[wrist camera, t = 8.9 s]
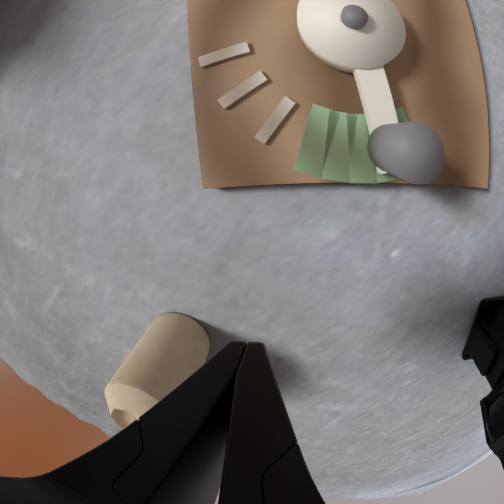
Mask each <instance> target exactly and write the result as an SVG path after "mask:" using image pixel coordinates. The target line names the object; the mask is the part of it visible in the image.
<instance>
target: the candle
mask: <svg viewBox="0 0 504 504" xmlns="http://www.w3.org/2000/svg"><path fill="white" fill-rule="evenodd" d="M209 349H210V340H209V337H208V335H207V333H206V331H205V330H204V328H203V327H202V326H201V325H200V324H199V323H198V322H197V321H195V320H194V319H192V318H190V317H189V316H186V315H184V314H181V313H175V312H168V313H164V314H161V315H159V316H158V317H157V318H155V320H154V321H153V322H152V323H151V324H150V326H149V327H148V328H147V330H146V331H145V333H144V334H143V335H142V337H141V338H140V339H139V341H138V342H137V344H136V345H135V346H134V348H133V349H132V351H131V352H130V353H129V355H128V356H127V358H126V359H125V360H124V362H123V363H122V365H121V366H120V368H119V369H118V370H117V372H116V373H115V375H114V376H113V378H112V379H111V380H110V382H109V383H108V385H107V386H106V388H105V397H106V401H107V404H108V407H109V411H110V416H111V417H112V419H113V420H114V421H115V423H116V424H117V425H118V426H119V427H121V428H126V427H127V426H128V425H130V424H131V423H132V422H133V421H135V420H136V419H137V420H139V417H140V416H141V415H143V414H144V413H145V412H146V411H148V410H149V409H150V408H152V407H153V406H154V405H155V404H157V403H158V402H159V401H160V400H162V399H163V398H164V397H165V396H166V395H168V394H169V393H170V392H171V391H173V390H174V389H175V388H176V387H177V386H179V385H180V384H181V383H182V382H183V381H185V380H186V379H187V378H188V377H189V376H191V375H192V374H193V373H194V372H195V371H197V370H198V369H199V368H200V367H201V366H202V365H204V363H205V360H206V358H207V355H208V353H209Z"/></svg>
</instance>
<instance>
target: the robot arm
mask: <svg viewBox="0 0 504 504" xmlns="http://www.w3.org/2000/svg"><path fill="white" fill-rule="evenodd" d="M461 356H462V358H463V360H469V359H473V360H474V362H475V364H476V366H477V368H478V369H479V371H480V373H481V375H482V376H485V377H486V379H487V380H488V382H489V384H490V386H491V388H492V391H491V392H490V393H489V394H488V395H487V396H486V397H484V398H483V399H482V400H481V401H480V405H481V412H482V417H483V422H484V429H485V435H486V442H487V444H488V446H489V448H490V449H491V450H492V451H493V452H494V454H495V455H497V456H498V457H499V459H500V461H501V463H502V466H503V469H504V296H503V297H495V298H487V299H483V300H482V301H481V302H480V304H479V308H478V311H477V314H476V317H475V320H474V323H473V326H472V329H471V332H470V334H469V337H468V340H467V342H466V345H465V347H464V350H463V352H462V355H461ZM219 489H220V494H219V501H218V504H325V502H324V501H323V499H322V497H321V495H320V493H319V491H318V489H317V487H316V485H315V483H314V481H313V479H312V477H311V475H310V473H309V470H308V468H307V465H306V463H305V460H304V458H303V455H302V452H301V450H300V447H299V445H298V444H297V439H296V436H295V433H294V430H293V427H292V425H291V422H290V419H289V416H288V413H287V410H286V407H285V404H284V402H283V399H282V396H281V393H280V390H279V387H278V384H277V381H276V378H275V375H274V372H273V369H272V366H271V363H270V360H269V357H268V354H267V351H266V348H265V345H264V344H263V343H261V342H248V343H246V342H244V341H231V342H229V343H228V344H227V345H226V346H224V347H223V348H222V349H221V350H220V351H219V352H218V353H216V354H215V355H214V356H213V357H212V358H211V359H210V360H208V361H207V362H206V363H205V364H204V365H202V366H201V367H200V368H199V369H198V370H197V371H195V372H194V373H193V374H192V375H191V376H189V377H188V378H187V379H186V380H185V381H183V382H182V383H181V384H180V385H179V386H177V387H176V388H175V389H174V390H173V391H171V392H170V393H169V394H168V395H166V396H165V397H164V398H163V399H162V400H160V401H159V402H158V403H157V404H155V405H154V406H153V407H152V408H150V409H149V410H148V411H146V412H145V413H144V414H143V415H141V416H140V417H139V420H137V419H136V420H135V421H133V422H132V423H131V424H130V425H128V426H127V427H126V428H124V429H123V430H121V431H120V432H119V433H117V434H116V435H114V436H113V437H112V438H110V439H109V440H107V441H106V442H104V443H102V444H101V445H99V446H97V447H96V448H94V449H92V450H91V451H89V452H87V453H85V454H84V455H81V456H80V457H78V458H76V459H74V460H72V461H70V462H68V463H67V464H65V465H62V466H61V467H59V468H57V469H55V470H53V471H50V472H48V473H46V474H43V475H39V476H35V477H27V478H18V477H2V476H0V504H214V503H215V501H216V498H217V495H218V492H219Z"/></svg>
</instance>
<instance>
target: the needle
mask: <svg viewBox="0 0 504 504" xmlns="http://www.w3.org/2000/svg"><path fill="white" fill-rule="evenodd" d="M297 27H298V33H299V36H300V38H301V41H302V42H303V44H304V46H305V47H306V48H307V50H308V51H309V52H310V53H311V54H312V55H313V56H314V57H315V58H317V59H318V60H319V61H321V62H322V63H324V64H325V65H327V66H329V67H331V68H334V69H336V70H340V71H343V72H348V73H353V74H354V78H355V81H356V84H357V88H358V91H359V95H360V98H361V102H362V106H363V110H364V113H365V117H366V122H367V126H368V130H369V134H370V136H369V139H368V143H367V150H368V155H369V157H370V159H371V161H372V162H373V164H374V165H375V166H376V169H377V172H378V173H380V174H385V173H390V174H392V175H394V176H396V177H399V178H401V179H403V180H405V181H407V182H409V183H412V184H418V185H421V184H426V183H429V182H431V181H432V180H434V179H435V178H436V177H437V176H438V175H439V173H440V172H441V170H442V167H443V164H444V159H445V152H444V146H443V143H442V141H441V139H440V137H439V135H438V134H437V133H436V131H435V130H434V129H433V128H431V127H430V126H428V125H427V124H424V123H421V122H404V123H398V119H397V115H396V111H395V107H394V103H393V99H392V95H391V91H390V88H389V84H388V81H387V77H386V74H385V71H384V68H383V66H385V65H386V64H387V63H389V62H390V61H391V60H392V59H394V58H395V57H396V56H397V55H398V54H399V52H400V51H401V50H402V48H403V46H404V43H405V38H406V28H405V23H404V20H403V18H402V15H401V13H400V12H399V10H398V9H397V7H396V6H395V4H394V3H393V2H392V1H391V0H299V3H298V7H297Z"/></svg>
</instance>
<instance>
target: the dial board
mask: <svg viewBox="0 0 504 504" xmlns="http://www.w3.org/2000/svg"><path fill="white" fill-rule="evenodd" d="M391 1H392V2H393V3H394V4H395V6H396V7H397V9H398V10H399V12H400V13H401V15H402V18H403V20H404V23H405V28H406V38H405V43H404V46H403V48H402V50H401V51H400V52H399V54H398V55H397V56H396V57H395V58H394V59H392V60H391V61H390V62H389V63H387V64H386V65H385V66H383V68H384V71H385V74H386V77H387V81H388V84H389V88H390V91H391V95H392V99H393V103H394V107H395V111H396V115H397V119H398V123H404V122H421V123H424V124H427V125H428V126H430V127H431V128H433V129H434V130H435V131H436V133H437V134H438V135H439V137H440V139H441V141H442V143H443V146H444V152H445V159H444V164H443V167H442V170H441V172H440V173H439V175H438V176H437V177H436V178H435V179H434V180H432V181H431V182H429V183H426V184H435V185H451V186H465V187H477V188H488V174H489V129H488V112H487V101H486V92H485V84H484V77H483V71H482V65H481V59H480V54H479V49H478V45H477V40H476V36H475V32H474V28H473V25H472V21H471V18H470V14H469V11H468V8H467V5H466V2H465V0H391ZM298 3H299V0H187V7H188V28H189V45H190V60H191V74H192V86H193V98H194V109H195V120H196V130H197V140H198V150H199V159H200V168H201V176H202V184H203V189H210V188H223V187H236V186H252V185H270V184H293V183H335V182H345V183H409V182H407V181H405V180H403V179H401V178H399V177H396V176H394V175H392V174H390V173H385V174H380V173H378V172H377V169H376V166H375V165H374V164H373V162H372V161H371V159H370V157H369V155H368V150H367V143H368V139H369V136H370V134H369V130H368V126H367V122H366V117H365V113H364V110H363V106H362V102H361V98H360V95H359V91H358V88H357V84H356V81H355V78H354V74H353V73H348V72H343V71H340V70H336V69H334V68H331V67H329V66H327V65H325V64H324V63H322V62H321V61H319V60H318V59H317V58H315V57H314V56H313V55H312V54H311V53H310V52H309V51H308V50H307V48H306V47H305V46H304V44H303V42H302V41H301V38H300V36H299V33H298V27H297V7H298Z"/></svg>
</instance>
